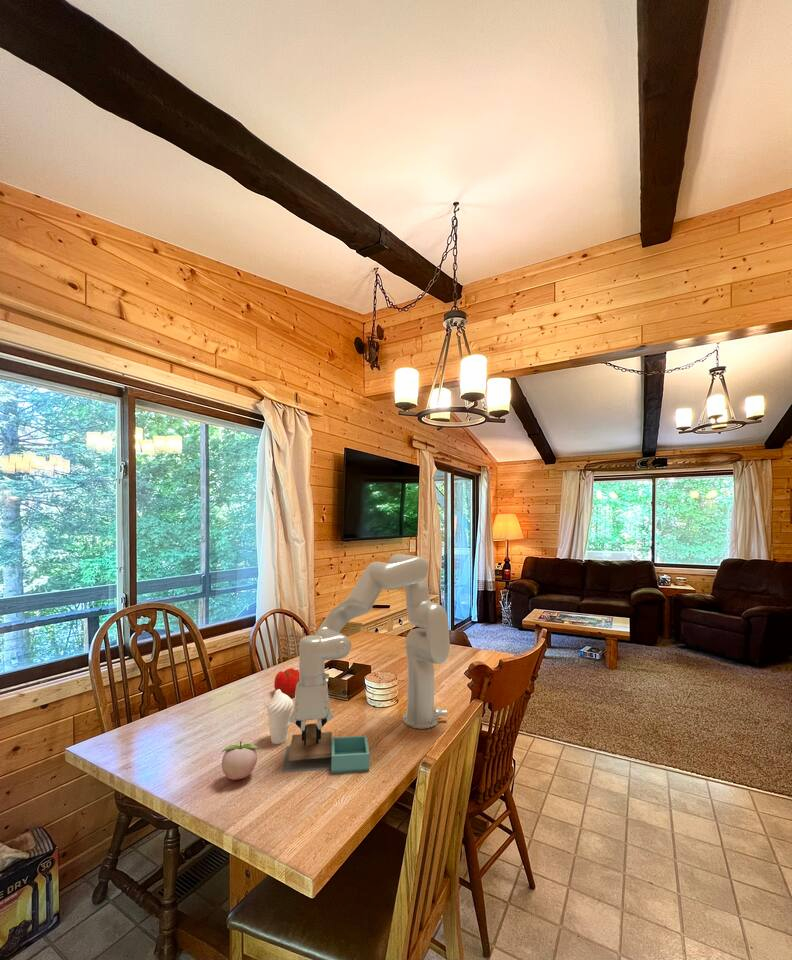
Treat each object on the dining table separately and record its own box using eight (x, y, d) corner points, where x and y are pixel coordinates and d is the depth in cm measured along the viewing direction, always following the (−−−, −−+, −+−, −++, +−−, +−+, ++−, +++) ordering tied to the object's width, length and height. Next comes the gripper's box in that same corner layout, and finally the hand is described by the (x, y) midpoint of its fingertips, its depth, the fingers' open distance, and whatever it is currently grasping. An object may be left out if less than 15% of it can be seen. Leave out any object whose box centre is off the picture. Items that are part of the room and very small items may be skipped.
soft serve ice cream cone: (296, 737, 141) (298, 686, 142) (282, 750, 133) (284, 696, 134) (274, 733, 144) (276, 683, 145) (259, 745, 136) (261, 692, 137)
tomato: (287, 686, 183) (288, 664, 184) (307, 693, 176) (308, 670, 177) (267, 694, 175) (268, 671, 176) (286, 702, 168) (287, 678, 169)
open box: (366, 752, 133) (366, 735, 133) (369, 772, 122) (369, 754, 123) (331, 754, 131) (331, 737, 132) (331, 775, 121) (331, 756, 121)
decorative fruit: (220, 793, 112) (222, 753, 113) (219, 776, 119) (221, 738, 120) (258, 785, 116) (260, 746, 116) (255, 769, 123) (257, 732, 124)
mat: (332, 745, 137) (332, 743, 137) (332, 770, 123) (332, 768, 123) (286, 747, 135) (286, 746, 135) (281, 773, 121) (281, 772, 121)
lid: (331, 735, 136) (331, 715, 137) (331, 757, 125) (331, 734, 125) (292, 738, 135) (292, 718, 135) (288, 760, 123) (288, 738, 123)
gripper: (338, 672, 136) (338, 733, 135) (285, 675, 134) (284, 737, 132) (339, 681, 129) (339, 746, 127) (282, 685, 126) (282, 751, 125)
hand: (311, 741), depth 130 cm, fingers closed on lid, 3 cm apart
